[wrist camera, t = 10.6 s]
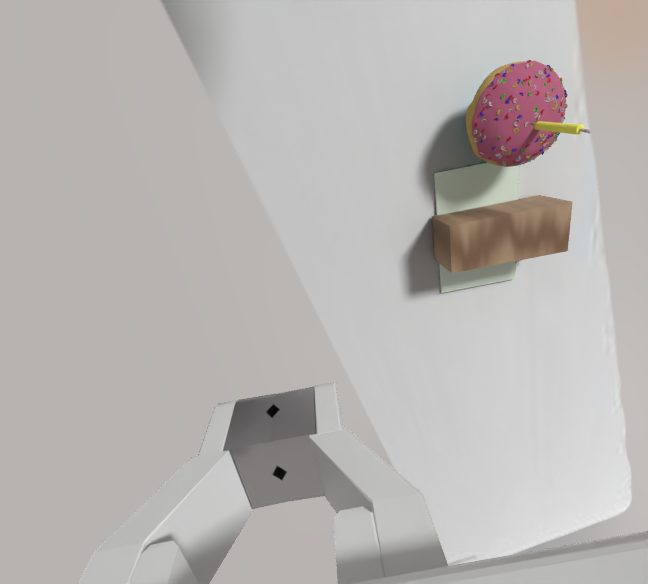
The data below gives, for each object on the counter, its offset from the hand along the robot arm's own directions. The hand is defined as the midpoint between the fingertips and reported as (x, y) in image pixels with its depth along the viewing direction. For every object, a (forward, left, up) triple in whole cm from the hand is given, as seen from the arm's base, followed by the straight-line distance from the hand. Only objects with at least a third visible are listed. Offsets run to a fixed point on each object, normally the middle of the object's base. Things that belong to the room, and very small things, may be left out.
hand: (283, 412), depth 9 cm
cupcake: (-5, +21, -31) cm, 38 cm away
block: (+6, +14, -28) cm, 32 cm away
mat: (+6, +19, -31) cm, 37 cm away
